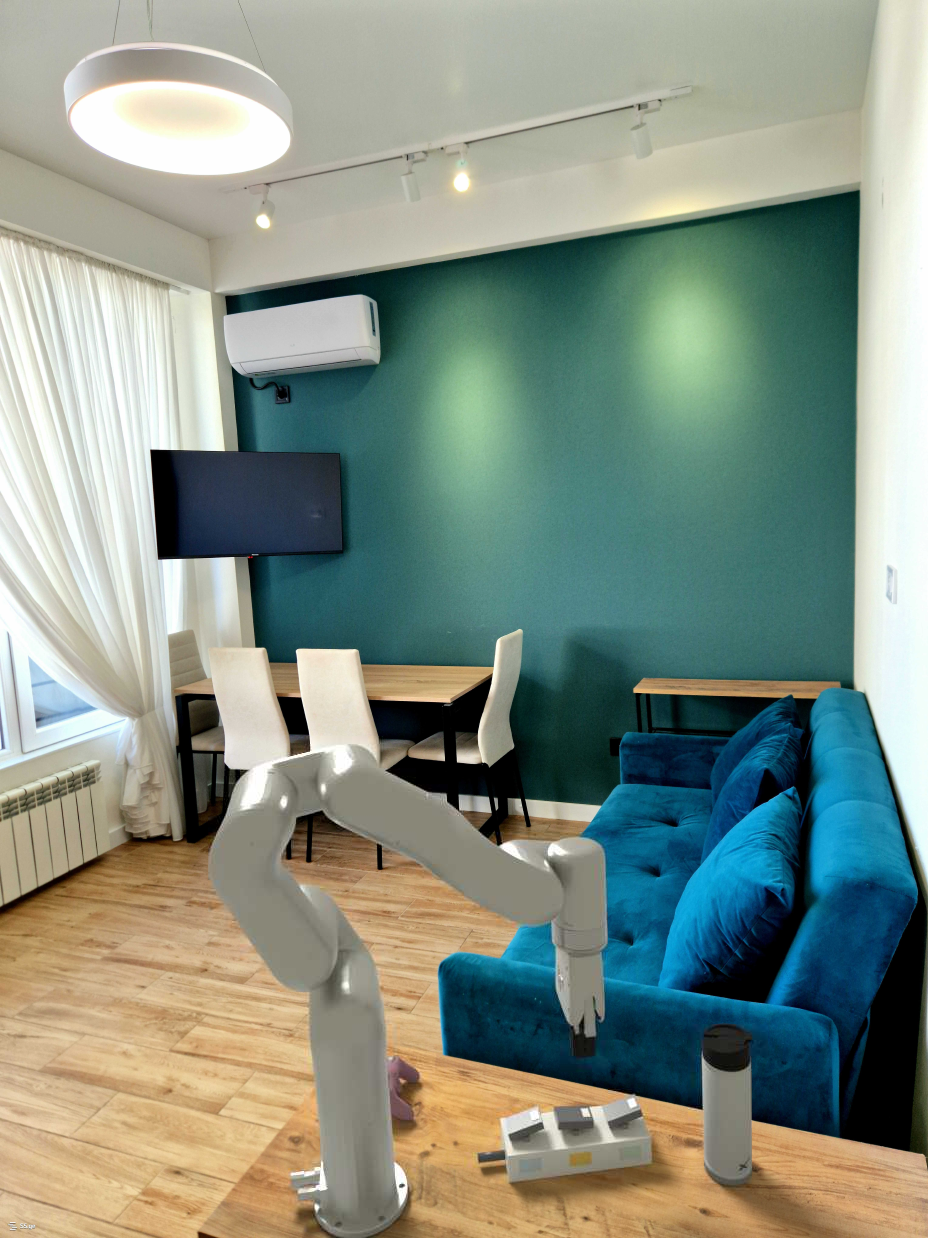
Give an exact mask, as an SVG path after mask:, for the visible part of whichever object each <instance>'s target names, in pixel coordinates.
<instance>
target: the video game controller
mask: <svg viewBox="0 0 928 1238" xmlns="http://www.w3.org/2000/svg"><path fill="white" fill-rule="evenodd" d="M387 1071H388V1085H389V1095H390V1108H391V1116H392V1115H393V1117H395V1118H397V1119H399V1120H402V1121H406V1122H408V1121H410V1122H411V1121H412V1120H413V1119H414V1117H415V1112H414V1109H413V1108H412V1106H411V1105H409V1104H408V1103H406V1102H405V1101H404V1100H402V1099H401V1098H400V1097H399V1096H398V1094H401V1093H402V1091H403V1086H402V1082H401V1080H404V1081H406V1082H410V1083H417V1082H418V1081H419V1080H420V1079H421V1075H420V1072H419V1071H418V1069H417V1068H415V1067H414V1066H413V1065H411V1064H409V1063H408V1062H406V1061H404V1059H402V1058H401V1057H399V1056H396V1055H393V1056H388V1057H387Z"/></svg>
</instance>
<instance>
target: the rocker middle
mask: <svg viewBox="0 0 928 1238" xmlns="http://www.w3.org/2000/svg"><path fill="white" fill-rule="evenodd" d="M589 1107H590V1105H589V1104H588V1105H587V1104H586V1105H584V1104H582V1105H559V1106H555V1105H554V1106H553V1112H554V1117H555V1121H556V1124H557V1128H558V1130H570V1129H593V1128H594V1119H593V1116H592V1114H591V1111H590V1108H589Z"/></svg>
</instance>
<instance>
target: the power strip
mask: <svg viewBox="0 0 928 1238" xmlns="http://www.w3.org/2000/svg"><path fill="white" fill-rule="evenodd" d="M604 1105H605V1104H604ZM604 1105H598V1106H597V1105H596V1106H589V1108H590V1111H591V1114H592V1116H593V1119H594V1128H593V1129H570V1130H558V1128H557V1124H556V1121H555V1117H554V1111H549V1112H540V1113H541V1117H542V1121H543V1124H544V1128H545V1129H543V1130H540V1131H538V1132H535V1133H532V1134H530V1135H527V1136H524V1137H522V1138H519V1139H517V1140H514V1141H510V1139H509V1136H508V1132H507V1127H506V1122H505V1118H506V1117H500V1118H499V1120H500V1135H501V1139H500V1140H501V1148H502V1149H499V1150H492V1151H491V1150H490V1151H483V1152H478V1153H476V1154H477V1162H478V1164H484V1163H490V1162H498V1161H499V1162H500V1161H504V1163H505V1169H506V1173H507V1178H508V1183H509V1184H510V1183H516V1182H517V1183H518V1182H524V1181H531V1180H538V1179H540V1180H541V1179H546V1178H554V1177H561V1176H563V1177H564V1176H569V1175H577V1174H578V1175H579V1174H585V1173H591V1172H593V1173H594V1172H599V1171H600V1172H601V1171H605V1170H606V1171H608V1170H615V1169H620V1168H621V1169H622V1168H623V1169H624V1168H632V1167H637V1166H645V1165H651V1164H653V1160H652V1159H653V1157H652V1156H653V1155H652V1154H653V1153H652V1136H651V1134H650V1131H649V1129H648V1127H647V1125H646V1123H645V1120H644V1118H643V1117H644V1116H643V1117H640V1118H638V1119H635V1120H632V1121H630V1122H627V1123H624V1124H622V1125H619V1126H616V1127H614V1128H611V1129H610V1128H609V1126H608V1123H607V1120H606V1118H605V1115H604V1112H603V1109H602V1106H604Z"/></svg>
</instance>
